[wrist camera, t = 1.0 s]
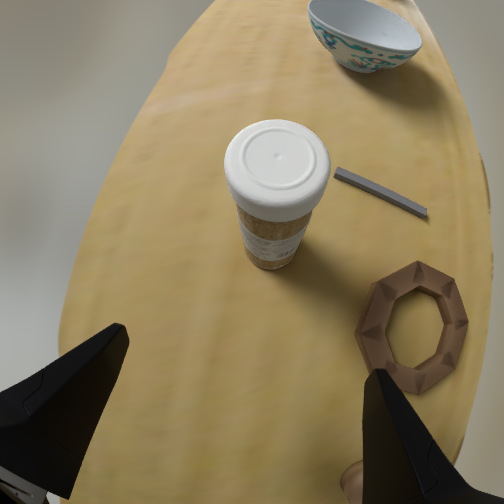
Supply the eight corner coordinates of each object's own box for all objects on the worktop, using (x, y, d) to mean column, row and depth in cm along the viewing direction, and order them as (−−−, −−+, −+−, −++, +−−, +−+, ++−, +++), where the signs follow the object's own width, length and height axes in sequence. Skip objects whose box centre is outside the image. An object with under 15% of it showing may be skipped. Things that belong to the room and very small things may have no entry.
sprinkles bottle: (284, 212, 25) (302, 105, 12) (305, 259, 24) (352, 184, 11) (235, 231, 25) (208, 134, 12) (255, 279, 23) (246, 223, 10)
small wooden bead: (378, 489, 18) (388, 502, 15) (336, 495, 18) (344, 511, 15) (387, 455, 19) (400, 467, 16) (344, 461, 19) (353, 475, 16)
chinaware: (288, 68, 30) (292, 20, 22) (317, 24, 33) (322, -12, 26) (401, 110, 28) (424, 67, 20) (406, 57, 31) (420, 22, 24)
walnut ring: (434, 398, 20) (442, 400, 18) (339, 369, 21) (344, 371, 20) (466, 292, 22) (475, 289, 21) (381, 250, 24) (388, 246, 22)
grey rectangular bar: (423, 211, 24) (427, 208, 24) (422, 218, 24) (426, 215, 23) (335, 170, 26) (337, 166, 25) (333, 177, 26) (335, 173, 25)
